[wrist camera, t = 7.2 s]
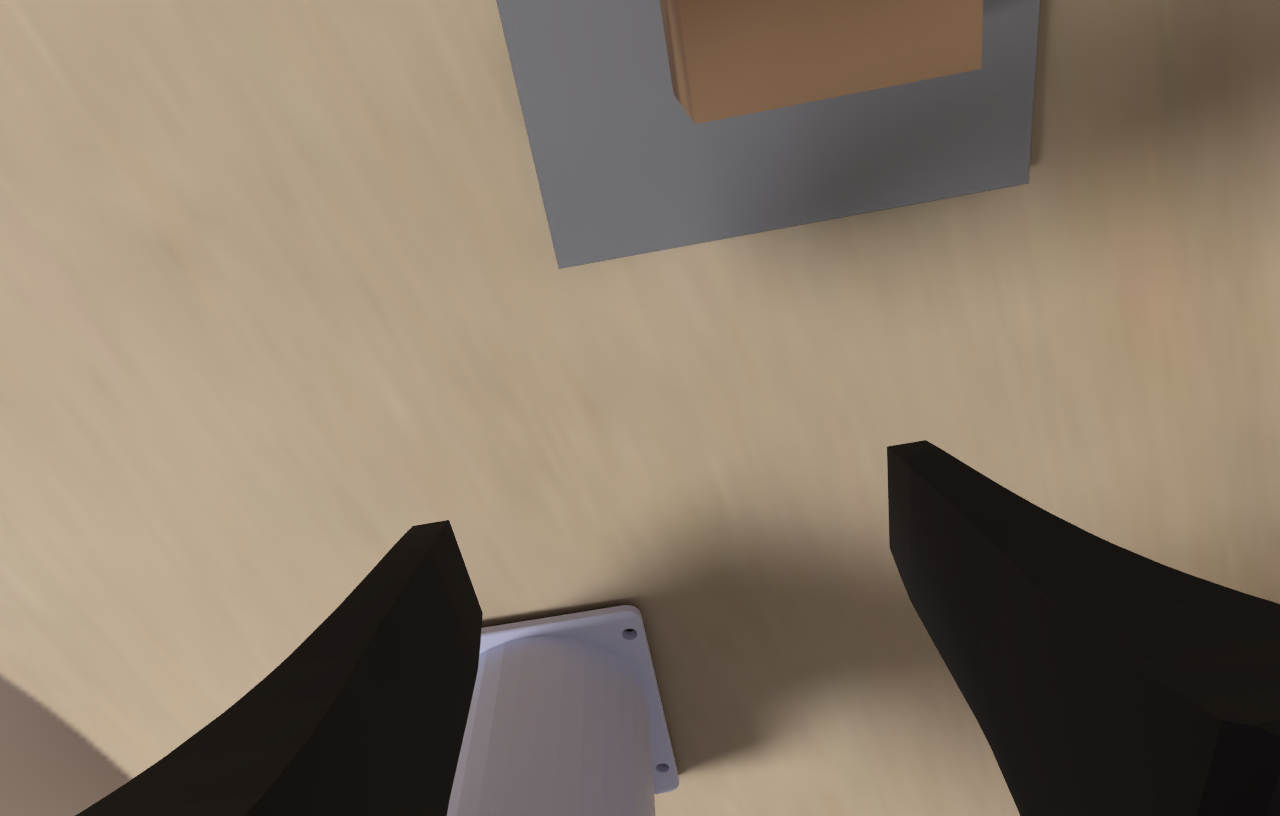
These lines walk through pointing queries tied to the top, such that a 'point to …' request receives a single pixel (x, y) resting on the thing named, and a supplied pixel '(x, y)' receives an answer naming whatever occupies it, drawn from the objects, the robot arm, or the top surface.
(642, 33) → the coaster
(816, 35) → the walnut cube
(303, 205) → the top surface
